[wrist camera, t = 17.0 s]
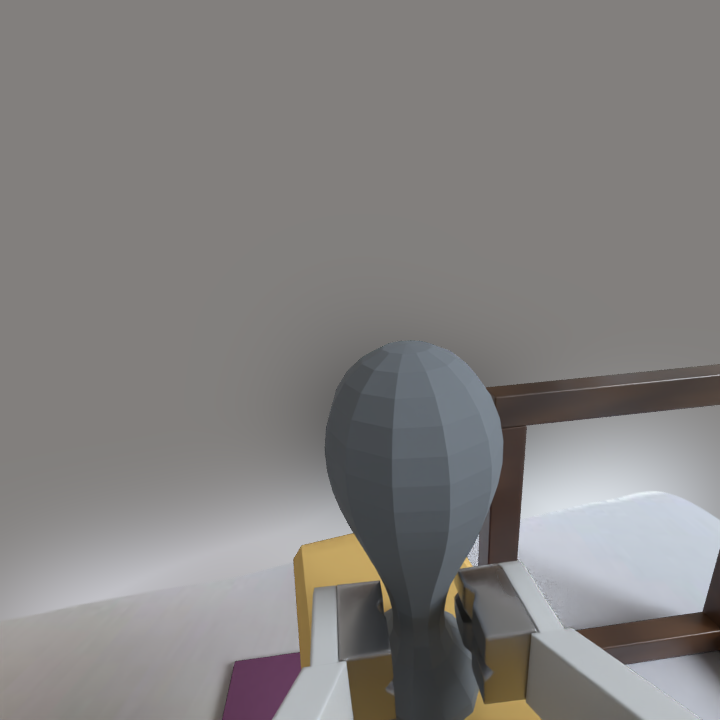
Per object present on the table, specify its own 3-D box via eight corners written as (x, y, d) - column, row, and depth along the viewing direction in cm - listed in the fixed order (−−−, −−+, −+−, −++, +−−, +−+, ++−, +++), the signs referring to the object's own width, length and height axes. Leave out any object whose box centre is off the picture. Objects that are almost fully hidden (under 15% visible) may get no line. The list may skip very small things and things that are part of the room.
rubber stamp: (693, 1070, 6) (1000, 443, 3) (362, 1285, 5) (156, 685, 2) (440, 581, 16) (435, 297, 12) (303, 619, 14) (254, 318, 11)
